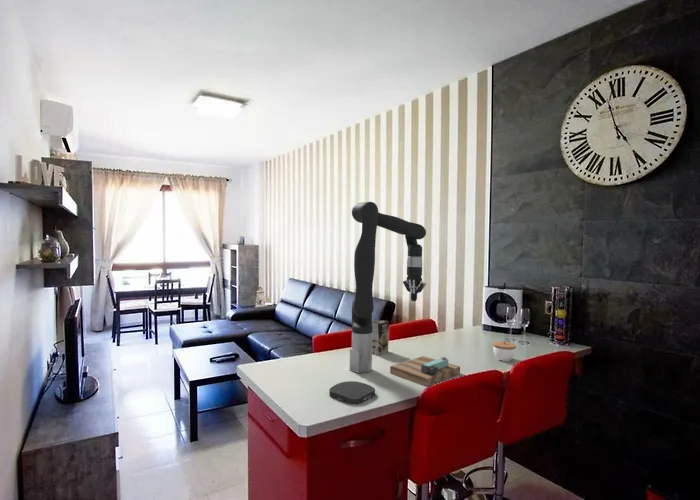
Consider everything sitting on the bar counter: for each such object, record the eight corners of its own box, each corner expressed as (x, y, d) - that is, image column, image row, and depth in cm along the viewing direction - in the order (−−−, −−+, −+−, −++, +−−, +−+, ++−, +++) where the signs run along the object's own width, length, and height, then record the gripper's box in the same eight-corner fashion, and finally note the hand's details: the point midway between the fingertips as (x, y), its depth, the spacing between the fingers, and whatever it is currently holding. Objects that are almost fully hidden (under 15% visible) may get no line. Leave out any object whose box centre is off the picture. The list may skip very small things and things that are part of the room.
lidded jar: (517, 363, 187) (518, 344, 187) (494, 362, 189) (494, 343, 189) (513, 357, 198) (513, 339, 197) (490, 355, 200) (491, 337, 199)
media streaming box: (349, 385, 157) (349, 378, 157) (379, 395, 147) (379, 387, 147) (324, 396, 145) (325, 388, 145) (355, 407, 136) (355, 399, 136)
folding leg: (442, 364, 174) (442, 356, 174) (448, 365, 172) (448, 357, 172) (421, 371, 164) (421, 363, 164) (427, 373, 162) (427, 365, 161)
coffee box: (379, 355, 197) (380, 323, 196) (368, 352, 201) (369, 322, 200) (388, 351, 204) (389, 320, 203) (378, 349, 208) (379, 319, 207)
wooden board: (427, 386, 156) (427, 372, 156) (390, 372, 171) (390, 360, 171) (459, 373, 172) (460, 361, 172) (423, 362, 187) (423, 350, 187)
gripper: (399, 265, 192) (398, 299, 192) (420, 266, 182) (419, 303, 183) (408, 264, 197) (408, 298, 197) (430, 266, 187) (429, 302, 188)
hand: (413, 300), depth 190 cm, fingers closed
